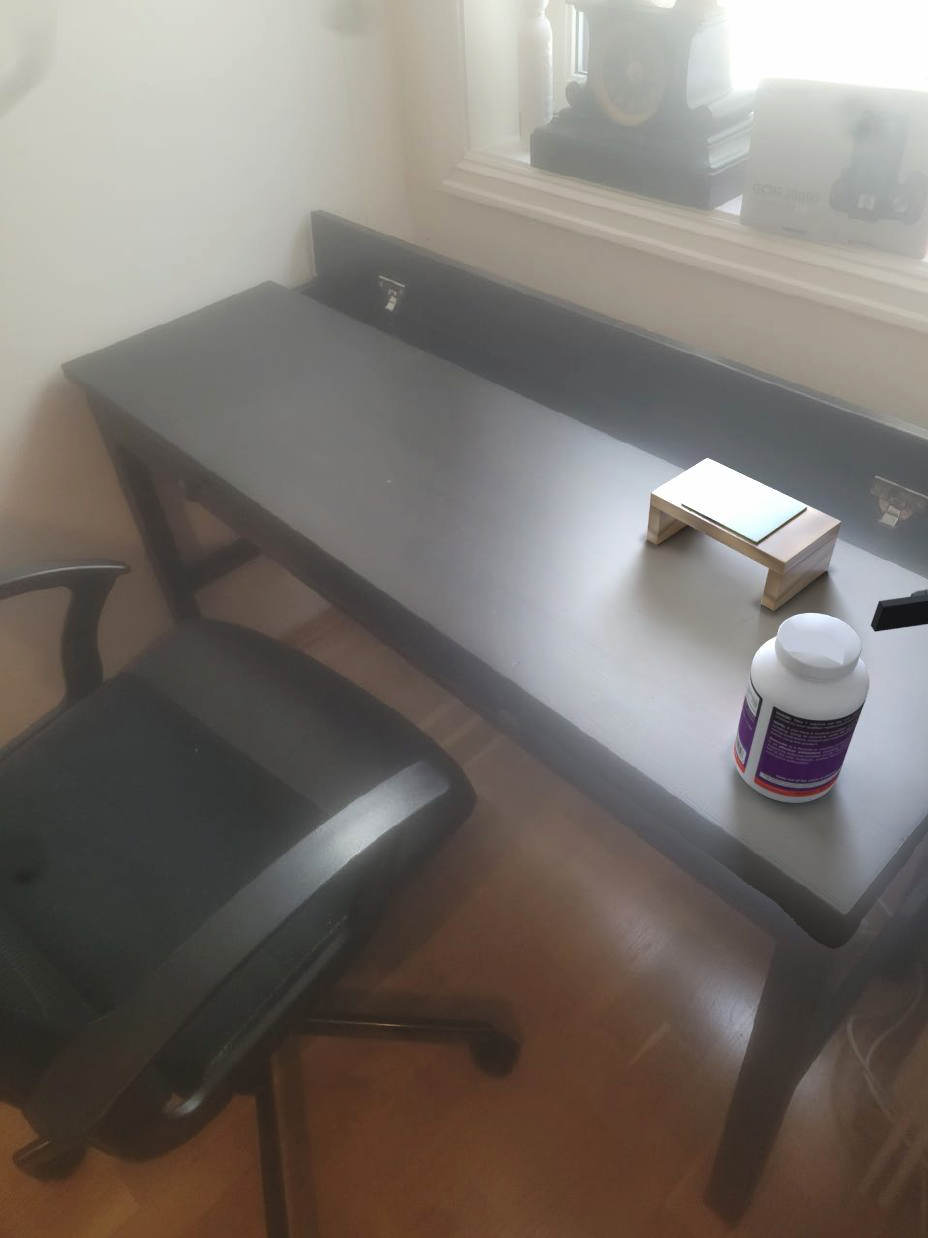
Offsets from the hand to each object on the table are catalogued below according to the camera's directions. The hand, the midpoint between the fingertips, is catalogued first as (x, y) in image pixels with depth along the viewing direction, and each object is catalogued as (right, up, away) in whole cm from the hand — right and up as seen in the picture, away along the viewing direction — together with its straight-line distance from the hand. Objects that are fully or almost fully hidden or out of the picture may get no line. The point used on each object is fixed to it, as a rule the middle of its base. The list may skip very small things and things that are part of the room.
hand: (919, 677), depth 64 cm
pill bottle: (-8, -8, +5) cm, 13 cm away
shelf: (-6, +11, +25) cm, 28 cm away
